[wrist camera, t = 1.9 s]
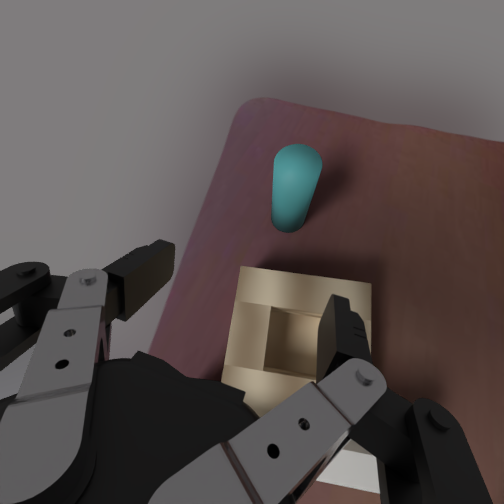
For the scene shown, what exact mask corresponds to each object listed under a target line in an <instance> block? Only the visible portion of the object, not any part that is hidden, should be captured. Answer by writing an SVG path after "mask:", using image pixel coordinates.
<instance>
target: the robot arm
mask: <svg viewBox="0 0 504 504" xmlns="http://www.w3.org/2000/svg"><path fill="white" fill-rule="evenodd" d="M174 259H175V245H174V244H173V243H170V242H167V241H164V240H160V239H159V240H157V241H155V242H154V243H152V244H151V245H149V246H147V245H146V246H143V247H139V248H136V249H134V250H133V251H131V252H129V254H126V255H125V256H123V258H120V259H118V260H116V261H115V262H113V263H111V264H110V265H108V266H106V267H105V268H103V269H102V270H99V269H83V270H79V271H76V272H74V273H72V274H71V275H69V277H65V276H56V275H50V270H49V267H48V265H46V264H44V263H41V262H24V263H19V264H16V265H13V266H10V267H8V268H6V269H4V270H2V271H0V314H1V313H2V312H4V311H6V310H7V309H9V308H11V307H12V308H13V311H14V314H15V316H14V317H13V318H11V319H9V320H8V321H6V322H5V323H3V324H2V325H0V371H1V370H3V369H4V368H5V367H6V366H8V365H9V364H10V363H12V362H13V361H14V360H15V359H16V358H18V357H19V356H20V355H22V354H23V353H24V352H26V351H27V350H28V349H29V348H31V347H32V346H33V345H34V344H36V346H35V349H34V351H33V354H32V357H31V359H30V362H29V365H28V368H27V370H26V373H25V375H24V378H23V381H22V384H21V386H20V389H19V392H18V393H17V394H14V395H12V396H9V397H7V398H4V399H1V400H0V504H296V503H297V502H298V501H299V500H300V499H301V498H302V496H303V495H304V494H305V493H306V492H307V491H308V489H309V488H310V487H311V486H312V484H313V483H314V482H315V481H316V479H317V478H318V477H319V475H320V474H321V473H322V472H323V471H324V470H325V468H326V467H327V466H328V465H329V464H330V463H331V462H332V460H333V459H334V458H335V457H336V456H337V455H338V454H339V453H340V451H341V450H342V449H343V448H344V447H345V446H346V445H347V444H348V442H349V441H350V440H351V439H352V440H353V441H355V442H356V443H357V444H359V445H360V446H361V447H363V448H364V449H365V450H367V451H368V452H369V453H371V454H372V455H373V456H375V457H376V461H377V471H378V480H379V490H380V499H381V504H493V502H492V500H491V497H490V495H489V493H488V490H487V488H486V485H485V483H484V480H483V478H482V476H481V473H480V471H479V468H478V466H477V463H476V461H475V459H474V456H473V454H472V451H471V449H470V446H469V444H468V442H467V439H466V437H465V434H464V432H463V430H462V428H461V426H460V424H459V423H458V421H457V420H456V419H455V418H454V416H453V415H452V414H451V413H450V412H449V411H447V410H446V409H445V408H444V407H442V406H441V405H440V404H438V403H436V402H434V401H432V400H429V399H426V398H419V399H417V400H415V402H414V403H413V404H412V403H410V402H409V401H407V400H406V399H404V398H402V397H401V396H399V395H398V394H396V393H394V392H393V391H391V390H390V389H389V388H388V387H387V384H386V381H385V378H384V377H383V375H382V374H381V372H380V371H379V370H378V369H377V368H376V367H375V366H373V363H372V358H371V353H370V348H369V344H368V340H367V334H366V332H365V331H366V329H365V324H364V321H363V320H362V318H361V317H360V315H359V314H358V313H357V312H354V311H351V308H350V302H349V299H348V298H345V297H342V296H339V295H335V294H332V295H331V296H330V298H329V301H328V303H327V305H326V308H325V310H324V312H323V315H322V317H321V319H320V323H319V326H318V337H317V366H316V383H315V382H314V381H311V382H309V383H307V384H306V385H305V386H303V387H302V388H300V389H299V390H298V391H296V392H295V393H294V394H292V395H291V396H290V397H288V398H287V399H285V400H284V401H283V402H281V403H280V404H279V405H277V406H276V407H275V408H273V409H272V410H270V411H269V412H268V413H266V414H265V415H264V416H262V417H261V418H260V417H259V416H258V415H257V413H256V412H255V411H254V410H253V409H252V408H251V407H250V406H249V405H247V404H246V403H245V402H243V400H244V397H245V393H246V392H245V391H243V390H240V389H237V388H235V387H232V386H229V385H227V384H224V383H222V382H219V381H213V380H205V379H197V378H189V377H186V376H184V375H183V374H182V373H180V372H179V371H177V370H176V369H175V368H173V367H172V366H171V365H169V364H168V363H167V362H165V361H164V360H162V359H159V358H156V357H154V356H151V355H149V354H146V353H143V352H141V351H138V352H137V353H136V354H135V355H134V356H133V357H132V358H131V359H130V358H120V359H112V360H109V355H110V354H109V353H110V341H111V329H112V326H111V322H112V321H113V320H114V319H115V318H117V319H120V320H122V321H127V320H128V319H129V318H130V317H131V316H132V315H133V314H134V313H135V312H137V311H138V310H139V309H140V308H141V307H142V306H143V305H144V304H145V303H146V302H147V301H148V300H149V299H150V298H151V297H152V296H153V295H155V293H157V292H158V291H159V290H160V289H161V288H162V287H163V286H164V285H165V284H166V283H167V282H168V281H169V280H170V279H171V277H172V275H173V271H174Z"/></svg>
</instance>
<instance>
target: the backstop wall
mask: <svg viewBox="0 0 504 504" xmlns="http://www.w3.org/2000/svg"><path fill="white" fill-rule="evenodd" d="M260 418H261V417H260ZM316 480H317V481H321V482H326V483H331V484H336V485H341V486H346V487H350V488H355V489H360V490H365V491H370V492H374V493H379V494H380V490H379V480H378V471H377V461H376V457H375V456H373V455H372V454H371V453H369V452H368V451H367V450H365V449H364V448H363V447H361V446H360V445H359V444H357V443H356V442H355V441H353V440H352V439H351V440H350V441H349V442H348V444H347V445H346V446H345V447H344V448H343V449H342V450H341V451H340V453H339V454H338V455H337V456H336V457H335V458H334V459H333V460H332V462H331V463H330V464H329V465H328V466H327V467H326V468H325V470H324V471H323V472H322V473H321V474H320V475H319V477H318V478H317V479H316Z"/></svg>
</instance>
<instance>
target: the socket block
mask: <svg viewBox="0 0 504 504" xmlns="http://www.w3.org/2000/svg"><path fill="white" fill-rule="evenodd" d="M332 294H335V295H339V296H342V297H345V298H348V299H349V302H350V308H351V311H354V312H357V313H358V314H359V315H360V317H361V318H362V320H363V321H364V324H365V329H366V331H365V332H366V334H367V340H368V344H369V348H370V353H371V283H364V282H357V281H349V280H342V279H335V278H327V277H320V276H312V275H305V274H297V273H290V272H282V271H275V270H268V269H260V268H253V267H245V266H241V269H240V275H239V281H238V286H237V292H236V298H235V304H234V310H233V315H232V321H231V327H230V333H229V339H228V345H227V350H226V356H225V362H224V368H223V374H222V380H221V382H222V383H224V384H227V385H229V386H232V387H235V388H237V389H240V390H243V391H245V392H246V393H245V397H244V400H243V402H245V403H246V404H247V405H249V406H250V407H251V408H252V409H253V410H254V411H255V412H256V413H257V415H258V416H259V417H262V416H264V415H265V414H266V413H268V412H269V411H270V410H272V409H273V408H275V407H276V406H277V405H279V404H280V403H281V402H283V401H284V400H285V399H287V398H288V397H290V396H291V395H292V394H294V393H295V392H296V391H298V390H299V389H300V388H302V387H303V386H305V385H306V384H307V383H309V382H311V381H314V382H315V383H316V366H317V337H318V326H319V323H320V319H321V317H322V315H323V312H324V310H325V308H326V305H327V303H328V301H329V298H330V296H331V295H332Z"/></svg>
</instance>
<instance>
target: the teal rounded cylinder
mask: <svg viewBox="0 0 504 504" xmlns="http://www.w3.org/2000/svg"><path fill="white" fill-rule="evenodd" d="M321 170H322V159H321V157H320V155H319V154H318V152H317V151H315V150H314V149H313V148H311V147H309V146H307V145H302V144H293V145H289V146H286V147H284V148H283V149H281V150H280V151H279V152H278V153H277V155H276V157H275V160H274V174H273V194H272V213H271V220H272V223H273V225H274V226H275V227H276V228H277V229H278V230H280V231H282V232H286V233H291V232H295V231H297V230H299V229H300V228H301V227H302V225H303V223H304V221H305V218H306V215H307V212H308V209H309V206H310V203H311V200H312V197H313V194H314V191H315V188H316V185H317V182H318V179H319V176H320V173H321Z"/></svg>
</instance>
